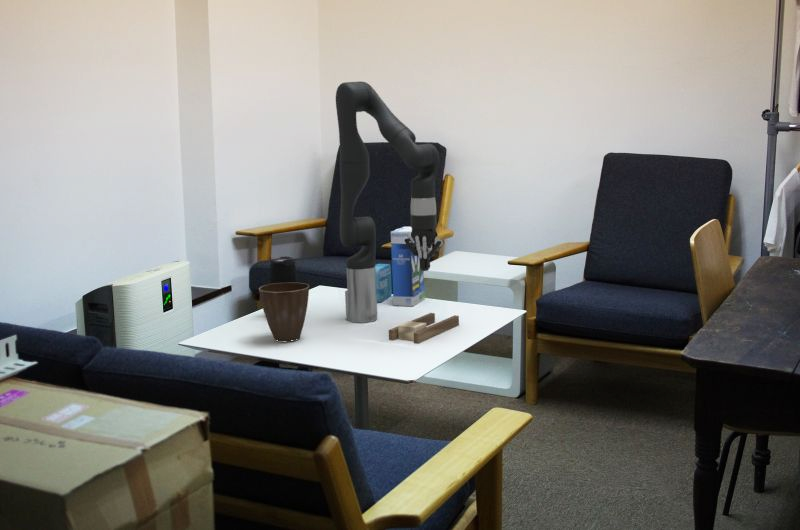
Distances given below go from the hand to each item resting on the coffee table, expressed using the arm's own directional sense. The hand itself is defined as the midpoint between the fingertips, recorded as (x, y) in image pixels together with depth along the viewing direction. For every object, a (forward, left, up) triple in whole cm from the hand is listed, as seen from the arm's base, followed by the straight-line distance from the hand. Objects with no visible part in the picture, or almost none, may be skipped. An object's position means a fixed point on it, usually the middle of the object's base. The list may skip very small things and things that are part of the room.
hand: (425, 270), depth 276 cm
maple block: (0, -9, -18) cm, 20 cm away
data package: (-40, +34, -19) cm, 56 cm away
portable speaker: (-54, -1, -19) cm, 57 cm away
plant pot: (-35, -24, -19) cm, 46 cm away
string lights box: (-28, +34, -19) cm, 48 cm away
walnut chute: (0, -2, -19) cm, 19 cm away
